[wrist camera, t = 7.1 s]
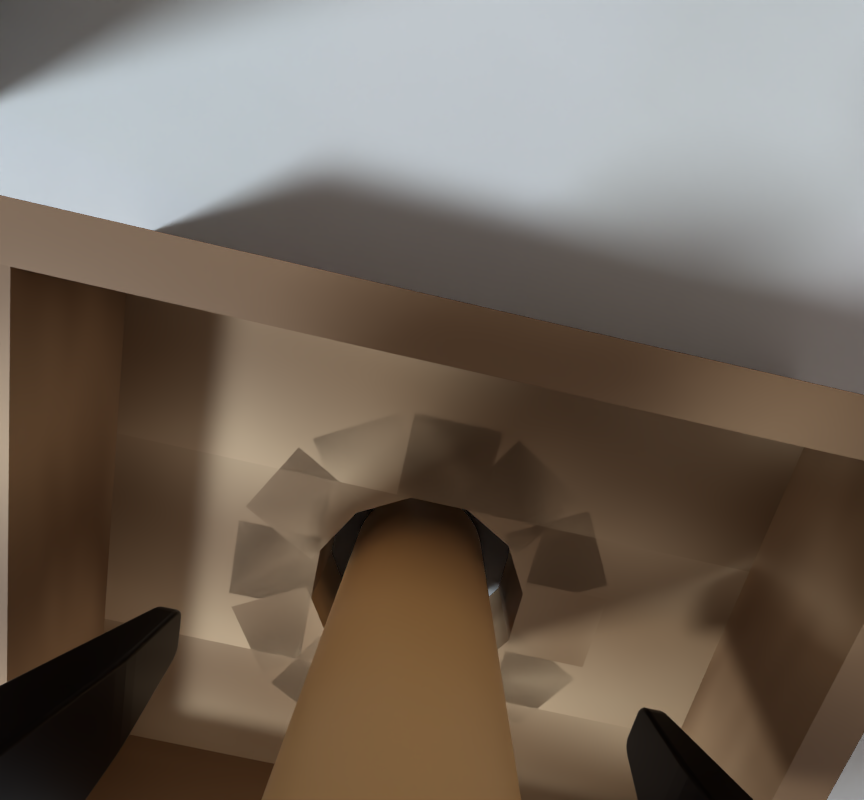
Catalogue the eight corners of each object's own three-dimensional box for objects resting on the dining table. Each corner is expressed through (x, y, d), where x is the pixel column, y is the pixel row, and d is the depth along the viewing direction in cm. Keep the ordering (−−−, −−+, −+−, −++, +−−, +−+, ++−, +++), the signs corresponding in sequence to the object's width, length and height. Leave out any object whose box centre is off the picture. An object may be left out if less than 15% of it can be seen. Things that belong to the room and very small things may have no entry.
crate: (626, 791, 14) (709, 1009, 10) (113, 686, 14) (-41, 865, 9) (798, 382, 11) (1029, 433, 7) (147, 232, 11) (-57, 182, 6)
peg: (464, 616, 13) (511, 1278, 4) (347, 591, 13) (139, 1213, 4) (494, 508, 12) (631, 1043, 3) (369, 480, 12) (172, 957, 3)
